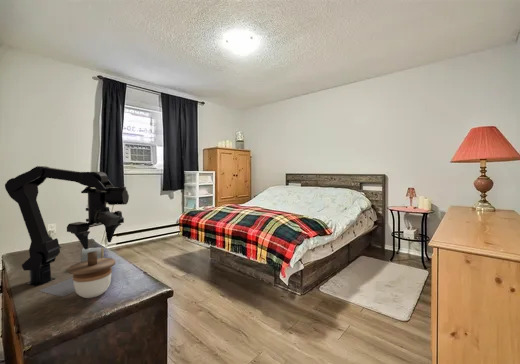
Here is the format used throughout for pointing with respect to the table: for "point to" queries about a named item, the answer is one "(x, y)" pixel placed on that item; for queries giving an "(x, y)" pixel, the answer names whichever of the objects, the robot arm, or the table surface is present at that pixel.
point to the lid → (91, 264)
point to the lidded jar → (92, 283)
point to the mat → (60, 288)
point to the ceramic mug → (84, 252)
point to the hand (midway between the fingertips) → (98, 245)
